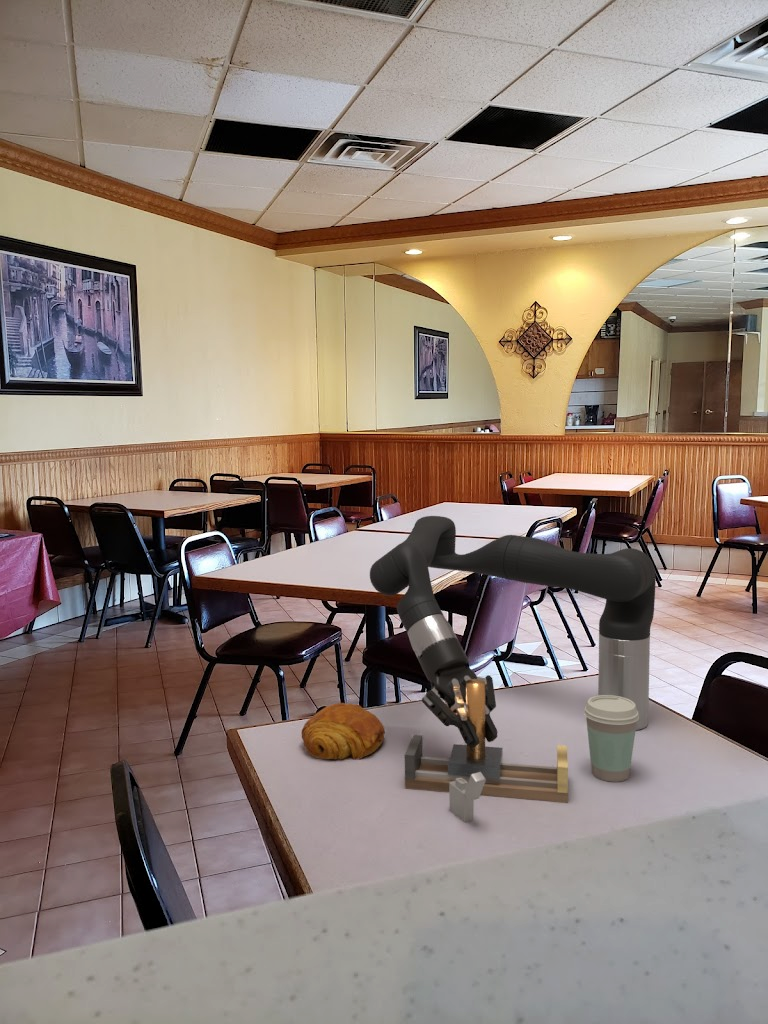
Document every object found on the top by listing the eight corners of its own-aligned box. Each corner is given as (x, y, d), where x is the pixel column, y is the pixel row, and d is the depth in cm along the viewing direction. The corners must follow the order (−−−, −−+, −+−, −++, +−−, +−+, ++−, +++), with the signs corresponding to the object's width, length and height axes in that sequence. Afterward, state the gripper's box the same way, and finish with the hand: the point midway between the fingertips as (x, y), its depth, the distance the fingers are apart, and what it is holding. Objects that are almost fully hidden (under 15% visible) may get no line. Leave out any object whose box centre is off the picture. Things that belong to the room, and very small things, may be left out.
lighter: (448, 809, 112) (448, 758, 111) (458, 807, 112) (458, 755, 112) (476, 831, 105) (475, 777, 104) (486, 828, 106) (486, 774, 105)
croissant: (289, 765, 133) (283, 724, 131) (335, 722, 146) (330, 685, 144) (360, 780, 126) (354, 737, 124) (401, 734, 139) (397, 694, 137)
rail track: (413, 766, 126) (413, 734, 126) (566, 778, 121) (566, 745, 120) (405, 788, 118) (404, 754, 118) (567, 802, 113) (567, 767, 112)
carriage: (453, 755, 124) (453, 673, 123) (502, 759, 122) (502, 676, 121) (448, 774, 117) (447, 688, 116) (499, 779, 115) (499, 691, 114)
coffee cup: (638, 766, 125) (639, 696, 124) (637, 789, 117) (639, 715, 116) (585, 759, 128) (585, 691, 126) (581, 782, 120) (582, 709, 118)
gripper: (460, 651, 132) (506, 742, 124) (394, 666, 125) (438, 764, 116) (479, 629, 127) (529, 721, 119) (411, 643, 120) (459, 743, 111)
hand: (484, 742), depth 118 cm, fingers closed on carriage, 3 cm apart
